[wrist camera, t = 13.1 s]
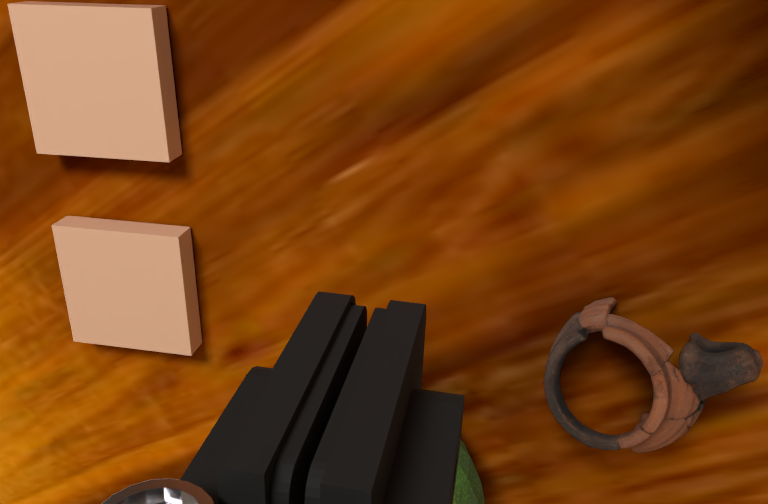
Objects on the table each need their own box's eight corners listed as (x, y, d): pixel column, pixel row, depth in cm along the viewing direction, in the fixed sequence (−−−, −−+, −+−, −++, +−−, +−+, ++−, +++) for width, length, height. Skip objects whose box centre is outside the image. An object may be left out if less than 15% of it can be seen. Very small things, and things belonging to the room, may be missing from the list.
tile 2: (192, 225, 47) (70, 213, 49) (178, 237, 45) (51, 225, 47) (204, 339, 51) (90, 326, 52) (191, 356, 49) (73, 341, 50)
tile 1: (168, 4, 42) (30, 0, 43) (151, 8, 40) (7, 3, 41) (184, 152, 45) (57, 144, 47) (169, 162, 43) (36, 153, 45)
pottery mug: (610, 440, 49) (562, 482, 42) (560, 310, 50) (507, 331, 43) (797, 402, 42) (775, 445, 35) (734, 252, 43) (701, 267, 36)
